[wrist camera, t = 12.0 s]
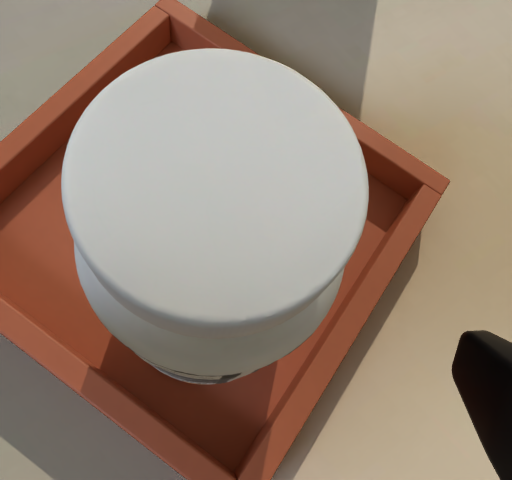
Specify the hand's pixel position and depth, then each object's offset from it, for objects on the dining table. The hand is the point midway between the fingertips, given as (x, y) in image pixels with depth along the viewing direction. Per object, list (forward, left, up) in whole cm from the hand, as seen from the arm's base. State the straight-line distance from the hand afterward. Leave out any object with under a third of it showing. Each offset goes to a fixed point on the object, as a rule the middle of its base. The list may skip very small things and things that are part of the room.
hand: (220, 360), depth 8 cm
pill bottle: (+2, +2, -8) cm, 8 cm away
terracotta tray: (+4, +4, -8) cm, 10 cm away
